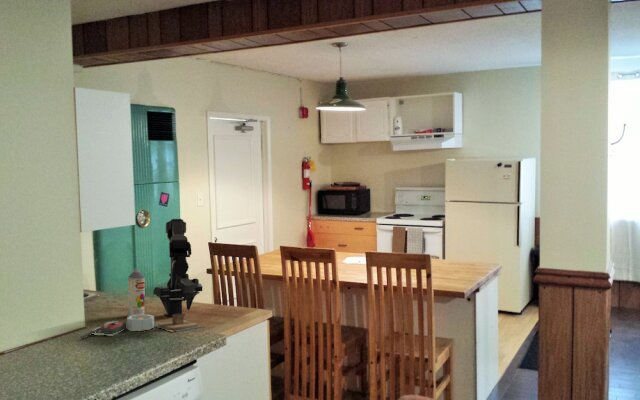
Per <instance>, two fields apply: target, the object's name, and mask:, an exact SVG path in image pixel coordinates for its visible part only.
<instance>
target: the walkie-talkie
mask: <svg viewBox="0 0 640 400" xmlns="http://www.w3.org/2000/svg"><path fill="white" fill-rule="evenodd" d="M123 329H126V330H127V322H125V321H118V320H112V321H107V322H105V323H103V324H102V326H98V327H97V326H96V327H95V328H93V329H92V328H91V330H90V332H89V333H86V334H83V335H81V336H80V339H81V338H84V337H86V336H88V335H90V334H92V333H95V332H96V333H104V334H113V333H116V332H119V331H121V330H123ZM90 336H91V335H90ZM88 337H89V336H88ZM86 338H87V337H86ZM84 339H85V338H84Z"/></svg>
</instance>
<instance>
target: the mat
mask: <svg viewBox="0 0 640 400" xmlns="http://www.w3.org/2000/svg"><path fill="white" fill-rule="evenodd" d="M156 327H157V328H156ZM154 328H156V329H159V328H162V329H166V328H163V327H160V326H158V324H157V325H154ZM200 328H201V329H202V328H203V327H202V326H201V325H198V327H192V328H187V329H181V330H176V331H180V332H185V331H191V330H195V329H200ZM162 329H161V330H162ZM167 330H169V329H167Z"/></svg>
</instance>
